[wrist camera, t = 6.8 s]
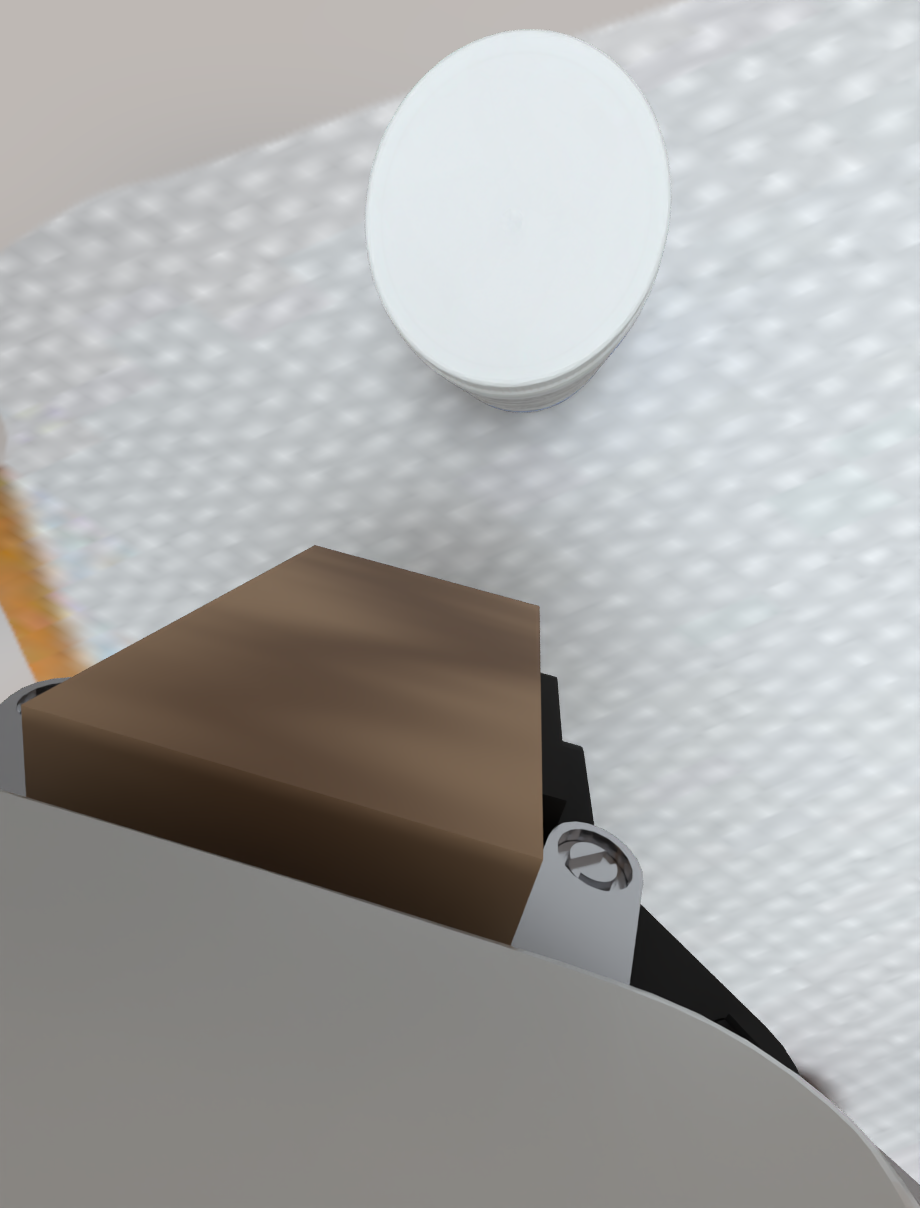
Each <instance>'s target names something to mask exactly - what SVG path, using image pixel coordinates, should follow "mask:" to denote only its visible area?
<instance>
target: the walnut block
mask: <svg viewBox="0 0 920 1208" xmlns="http://www.w3.org/2000/svg"><path fill="white" fill-rule="evenodd" d="M21 715H22V733H23V751H24V769H25V787H26V797H28V798H31V799H35V800H38V801H41V802H45V803H48V804H51V805H55V806H58V807H61V808H65V809H68V810H71V811H75V812H78V813H81V814H85V815H88V816H91V817H94V818H98V819H101V820H104V821H108V822H111V823H114V824H118V825H121V826H124V827H127V828H131V829H134V830H137V831H141V832H144V833H147V834H150V835H154V836H157V837H160V838H164V839H167V840H170V841H173V842H177V843H180V844H183V845H187V846H190V847H193V848H196V849H200V850H203V851H206V852H210V853H213V854H216V855H219V856H223V857H226V858H229V859H233V860H236V861H239V862H242V863H246V864H249V865H252V866H255V867H259V868H262V869H265V870H268V871H272V872H275V873H278V874H281V875H285V876H288V877H291V878H294V879H298V880H301V881H304V882H307V883H311V884H314V885H317V886H320V887H324V888H327V889H330V890H333V891H337V892H340V893H343V894H346V895H350V896H353V897H356V898H359V899H362V900H366V901H369V902H372V903H375V904H379V905H382V906H385V907H388V908H391V909H395V910H398V911H401V912H404V913H407V914H411V915H414V916H417V917H420V918H423V919H427V920H430V921H433V922H436V923H439V924H443V925H446V926H449V927H452V928H455V929H459V930H462V931H465V932H468V933H471V934H475V935H478V936H481V937H484V938H487V939H491V940H494V941H497V942H500V943H504V944H507V945H510V946H511V943H512V941H513V938H514V935H515V933H516V930H517V927H518V925H519V922H520V920H521V917H522V914H523V912H524V909H525V906H526V904H527V901H528V898H529V896H530V893H531V891H532V888H533V885H534V883H535V880H536V877H537V875H538V872H539V870H540V867H541V864H542V862H543V806H542V741H541V677H540V612H539V606H537V605H533V604H529V603H526V602H522V601H518V600H515V599H511V598H507V597H503V596H500V595H496V594H492V593H489V592H485V591H481V590H478V589H474V588H470V587H467V586H463V585H459V584H456V583H452V582H448V581H445V580H441V579H437V578H434V577H430V576H426V575H423V574H419V573H415V572H411V571H408V570H404V569H400V568H397V567H393V566H389V565H386V564H382V563H378V562H375V561H371V560H367V559H364V558H360V557H356V556H353V555H349V554H345V553H342V552H338V551H334V550H331V549H327V548H323V547H319V546H316V545H314V546H312V547H311V548H309V549H307V550H305V551H303V552H301V553H300V554H298V555H296V556H294V557H292V558H290V559H289V560H287V561H285V562H283V563H281V564H279V565H278V566H276V567H274V568H272V569H270V570H268V571H266V572H265V573H263V574H261V575H259V576H257V577H255V578H254V579H252V580H250V581H248V582H246V583H244V584H243V585H241V586H239V587H237V588H235V589H233V590H231V591H230V592H228V593H226V594H224V595H222V596H220V597H219V598H217V599H215V600H213V601H211V602H209V603H208V604H206V605H204V606H202V607H200V608H198V609H197V610H195V611H193V612H191V613H189V614H187V615H185V616H184V617H182V618H180V619H178V620H176V621H174V622H173V623H171V624H169V625H167V626H165V627H163V628H162V629H160V630H158V631H156V632H154V633H152V634H150V635H149V636H147V637H145V638H143V639H141V640H139V641H138V642H136V643H134V644H132V645H130V646H128V647H127V648H125V649H123V650H121V651H119V652H117V653H116V654H114V655H112V656H110V657H108V658H106V659H104V660H103V661H101V662H99V663H97V664H95V665H93V666H92V667H90V668H88V669H86V670H84V671H82V672H81V673H79V674H77V675H75V676H73V677H71V678H69V679H68V680H66V681H64V682H62V683H60V684H58V685H57V686H55V687H53V688H51V689H49V690H47V691H46V692H44V693H42V694H40V695H38V696H36V697H35V698H33V699H31V700H29V701H27V702H25V703H23V704H22V705H21Z"/></svg>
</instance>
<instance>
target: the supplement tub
mask: <svg viewBox="0 0 920 1208" xmlns="http://www.w3.org/2000/svg"><path fill="white" fill-rule="evenodd" d="M670 214H671V176H670V167H669V159H668V154H667V150H666V146H665V142H664V139H663V136H662V133H661V130H660V127H659V124H658V122H657V119H656V117H655V115H654V112H653V110H652V108H651V106H650V104H649V103H648V101H647V99H646V98H645V96H644V94H643V93H642V91H641V90H640V89H639V87H638V86H637V85H636V83H635V82H634V81H633V79H632V78H631V77H630V76H629V75H628V74H627V73H626V71H625V70H624V69H623V68H622V67H620V66H619V65H618V64H617V63H616V62H615V61H614V60H613V59H612V58H610V57H609V56H608V55H607V54H605V53H604V52H602V51H601V50H599V49H597V48H596V47H594V46H592V45H591V44H589V43H587V42H585V41H583V40H580V39H578V38H575V37H573V36H570V35H566V34H562V33H558V32H554V31H548V30H532V29H531V30H530V29H521V30H513V31H506V32H501V33H497V34H494V35H490V36H487V37H484V38H481V39H479V40H476V41H474V42H472V43H470V44H468V45H466V46H464V47H462V48H460V49H458V50H456V51H454V52H453V53H451V54H450V55H448V56H447V57H445V58H444V59H443V60H441V61H440V62H439V63H438V64H437V65H435V66H434V67H433V68H432V69H431V70H430V71H428V73H427V74H425V75H424V76H423V77H422V79H421V80H420V81H419V82H418V83H417V84H416V85H415V86H414V87H413V88H412V89H411V91H410V92H409V93H408V94H407V96H406V97H405V99H404V100H403V101H402V103H401V104H400V106H399V107H398V109H397V111H396V112H395V114H394V116H393V118H392V119H391V121H390V123H389V124H388V126H387V128H386V130H385V133H384V135H383V137H382V140H381V142H380V145H379V147H378V150H377V153H376V155H375V158H374V162H373V166H372V170H371V174H370V178H369V183H368V188H367V195H366V205H365V239H366V249H367V256H368V261H369V265H370V270H371V274H372V278H373V281H374V284H375V287H376V290H377V292H378V295H379V298H380V300H381V302H382V304H383V306H384V308H385V310H386V312H387V314H388V316H389V317H390V319H391V321H392V322H393V324H394V325H395V327H396V328H397V330H398V332H399V333H400V335H401V336H402V338H403V339H404V341H405V342H406V343H407V344H408V346H409V347H410V348H411V349H412V350H413V351H414V353H415V354H416V355H417V356H418V357H419V358H420V359H421V360H422V361H423V362H424V363H425V364H427V365H428V366H429V367H430V368H432V369H433V370H434V371H435V372H437V373H438V374H439V375H441V376H442V377H444V378H445V379H447V380H448V381H449V382H451V383H453V384H454V385H456V386H458V387H459V388H461V389H463V390H464V391H466V392H468V393H469V394H471V395H472V396H474V397H475V398H477V399H478V400H480V401H482V402H484V403H486V404H488V405H490V406H492V407H495V408H498V409H501V410H504V411H510V412H535V411H540V410H543V409H546V408H550V407H552V406H555V405H557V404H559V403H561V402H563V401H565V400H566V399H568V398H569V397H571V396H572V395H573V394H575V393H576V392H577V391H578V390H580V389H581V388H582V387H583V386H584V385H585V384H586V383H587V382H588V381H589V380H590V379H591V377H592V376H593V375H594V374H595V373H596V371H597V370H598V369H599V368H600V367H601V365H602V364H603V363H604V362H605V361H606V359H607V358H608V357H609V356H610V355H611V354H612V352H613V351H614V350H615V349H616V348H617V346H618V345H619V344H620V342H621V341H622V340H623V339H624V337H625V336H626V334H627V333H628V331H629V330H630V329H631V327H632V326H633V324H634V322H635V321H636V319H637V318H638V316H639V314H640V312H641V310H642V308H643V306H644V304H645V302H646V300H647V298H648V296H649V294H650V292H651V289H652V287H653V285H654V282H655V279H656V276H657V273H658V270H659V267H660V263H661V259H662V256H663V252H664V248H665V244H666V240H667V235H668V230H669V223H670Z"/></svg>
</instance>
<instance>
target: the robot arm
mask: <svg viewBox="0 0 920 1208" xmlns="http://www.w3.org/2000/svg"><path fill="white" fill-rule="evenodd" d="M540 677H541V741H542V806H543V862H542V864H541V867H540V870H539V872H538V875H537V877H536V880H535V883H534V885H533V888H532V891H531V893H530V896H529V898H528V901H527V904H526V906H525V909H524V912H523V914H522V917H521V920H520V922H519V925H518V927H517V930H516V933H515V935H514V938H513V941H512V943H511V946H510V945H507V944H504V943H500V942H497V941H494V940H491V939H487V938H484V937H481V936H478V935H475V934H471V933H468V932H465V931H462V930H459V929H455V928H452V927H449V926H446V925H443V924H439V923H436V922H433V921H430V920H427V919H423V918H420V917H417V916H414V915H411V914H407V913H404V912H401V911H398V910H395V909H391V908H388V907H385V906H382V905H379V904H375V903H372V902H369V901H366V900H362V899H359V898H356V897H353V896H350V895H346V894H343V893H340V892H337V891H333V890H330V889H327V888H324V887H320V886H317V885H314V884H311V883H307V882H304V881H301V880H298V879H294V878H291V877H288V876H285V875H281V874H278V873H275V872H272V871H268V870H265V869H262V868H259V867H255V866H252V865H249V864H246V863H242V862H239V861H236V860H233V859H229V858H226V857H223V856H219V855H216V854H213V853H210V852H206V851H203V850H200V849H196V848H193V847H190V846H187V845H183V844H180V843H177V842H173V841H170V840H167V839H164V838H160V837H157V836H154V835H150V834H147V833H144V832H141V831H137V830H134V829H131V828H127V827H124V826H121V825H118V824H114V823H111V822H108V821H104V820H101V819H98V818H94V817H91V816H88V815H85V814H81V813H78V812H75V811H71V810H68V809H65V808H61V807H58V806H55V805H51V804H48V803H45V802H41V801H38V800H35V799H31V798H28V797H26V787H25V769H24V751H23V733H22V715H21V705H22V704H23V703H25V702H27V701H29V700H31V699H33V698H35V697H36V696H38V695H40V694H42V693H44V692H46V691H47V690H49V689H51V688H53V687H55V686H57V685H58V684H60V683H62V682H64V681H66V680H68V679H69V678H71V677H68V678H56V679H50V680H46V681H41V682H37V683H34V684H31V685H29V686H26V687H24V688H21V689H20V690H18V691H17V692H15V693H14V694H12V695H10V696H9V697H8V698H7V699H6V700H4V701H3V702H2V703H1V704H0V1208H920V1185H919V1184H918V1183H917V1182H916V1181H915V1180H914V1179H913V1178H912V1177H910V1176H909V1175H908V1174H907V1173H906V1172H905V1171H904V1170H903V1169H901V1168H900V1167H899V1166H898V1165H897V1164H896V1163H895V1162H894V1161H893V1160H891V1159H890V1158H889V1157H888V1156H887V1155H886V1154H885V1153H884V1152H883V1151H881V1150H880V1149H879V1148H878V1147H877V1146H876V1145H875V1144H874V1143H873V1142H872V1141H871V1140H870V1139H869V1138H868V1137H867V1136H866V1135H865V1133H864V1132H863V1131H862V1130H861V1129H860V1128H859V1127H858V1126H857V1125H856V1124H855V1123H854V1122H853V1121H852V1120H851V1119H850V1118H849V1117H848V1116H847V1115H846V1114H845V1113H844V1112H842V1111H841V1110H840V1109H839V1108H838V1107H837V1106H836V1105H834V1104H833V1103H832V1102H831V1101H830V1100H829V1099H828V1098H826V1097H825V1096H824V1095H823V1094H822V1093H820V1092H819V1091H818V1090H817V1089H815V1088H814V1087H813V1086H812V1085H810V1084H809V1083H808V1082H807V1081H805V1080H804V1079H803V1078H802V1077H800V1075H799V1073H798V1070H797V1068H796V1066H795V1064H794V1063H793V1061H792V1060H791V1058H790V1057H789V1055H788V1053H787V1052H786V1050H785V1049H784V1047H783V1046H782V1044H781V1043H780V1042H779V1041H778V1040H777V1039H776V1038H775V1037H774V1035H773V1034H772V1033H771V1032H770V1031H769V1030H768V1029H767V1027H766V1026H765V1025H764V1024H763V1023H762V1022H761V1021H760V1020H758V1019H757V1018H756V1017H755V1016H754V1015H753V1014H752V1013H751V1012H750V1011H749V1010H748V1009H747V1008H746V1007H745V1006H744V1005H743V1004H742V1003H741V1002H740V1001H739V1000H738V999H737V998H736V997H735V996H734V995H733V994H732V993H731V992H730V991H729V990H728V989H727V988H726V987H725V986H724V985H723V984H722V983H721V982H720V981H719V980H718V979H717V978H716V977H715V976H713V975H712V974H711V973H710V972H709V971H708V970H707V969H706V968H705V967H704V966H703V965H702V964H701V963H700V962H699V961H698V960H697V959H696V958H695V957H694V956H693V955H692V954H691V953H690V952H689V951H688V950H687V949H686V948H685V947H684V946H683V945H682V944H681V943H680V942H679V941H678V940H677V939H676V938H675V937H674V936H673V935H672V934H671V933H670V932H669V931H667V930H666V929H665V928H664V927H663V926H662V925H661V924H660V923H659V922H658V921H657V920H656V919H655V918H654V917H653V916H652V915H651V914H650V913H649V912H648V911H647V910H646V909H645V908H644V907H643V906H642V905H641V904H640V903H641V895H642V888H643V874H642V869H641V867H640V865H639V863H638V860H637V858H636V857H635V856H634V855H633V853H632V852H631V851H630V849H629V848H628V847H627V846H626V845H625V844H624V843H623V842H621V841H620V840H619V839H618V838H617V837H615V836H614V835H612V834H610V833H609V832H607V831H605V830H604V829H602V828H599V827H597V826H594V821H593V814H592V807H591V800H590V793H589V786H588V779H587V772H586V765H585V758H584V751H583V748H582V747H581V746H578V745H574V744H571V743H567V742H564V741H562V731H561V719H560V706H559V694H558V681H557V677H554V676H550V675H547V674H543V673H540Z"/></svg>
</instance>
